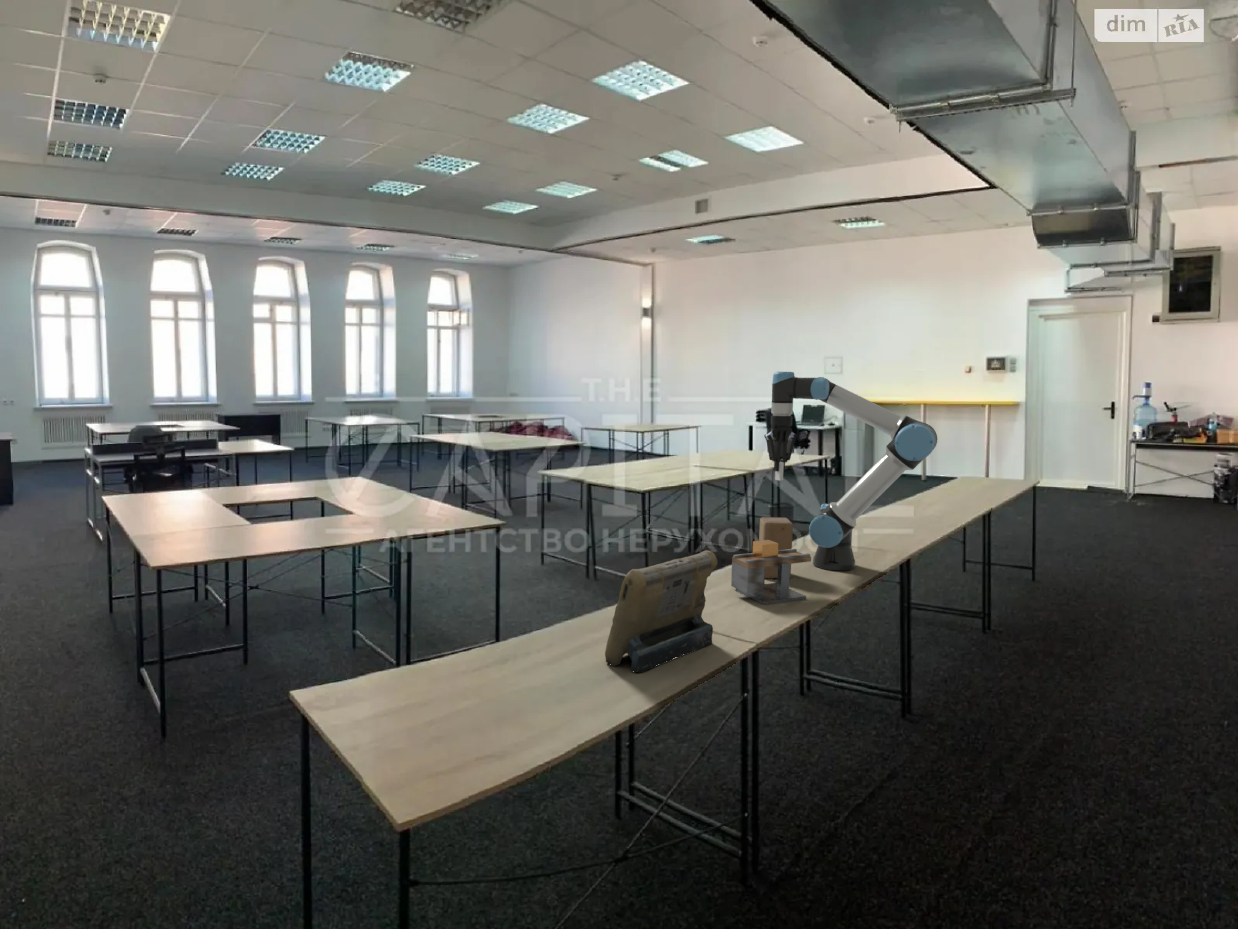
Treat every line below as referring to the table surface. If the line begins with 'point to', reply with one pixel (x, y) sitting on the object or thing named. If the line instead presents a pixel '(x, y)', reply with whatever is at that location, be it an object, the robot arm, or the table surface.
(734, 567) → the beam
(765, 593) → the pivot stand
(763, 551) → the rider
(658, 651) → the tablet
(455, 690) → the table surface
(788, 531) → the wooden block
